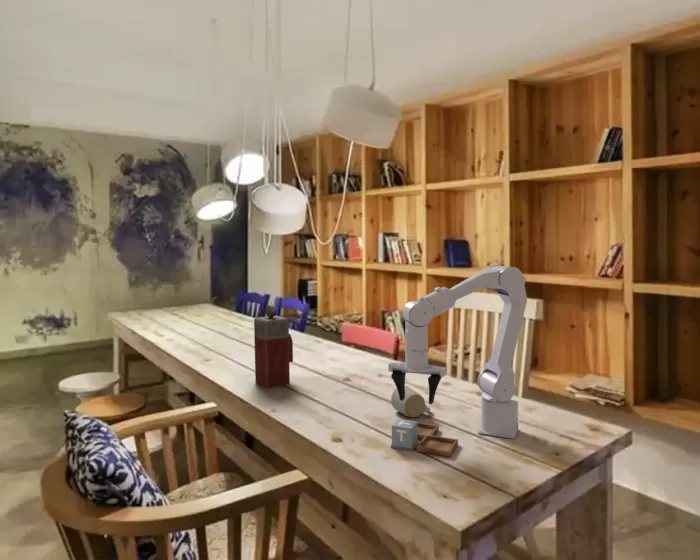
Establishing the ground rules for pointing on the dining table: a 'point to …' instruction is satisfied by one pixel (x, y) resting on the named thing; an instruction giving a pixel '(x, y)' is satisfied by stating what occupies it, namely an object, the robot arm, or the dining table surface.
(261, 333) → the dark red bottle
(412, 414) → the ceramic mug
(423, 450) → the tray
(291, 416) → the dining table surface
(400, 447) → the slate tile
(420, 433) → the tray
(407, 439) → the letter cube
